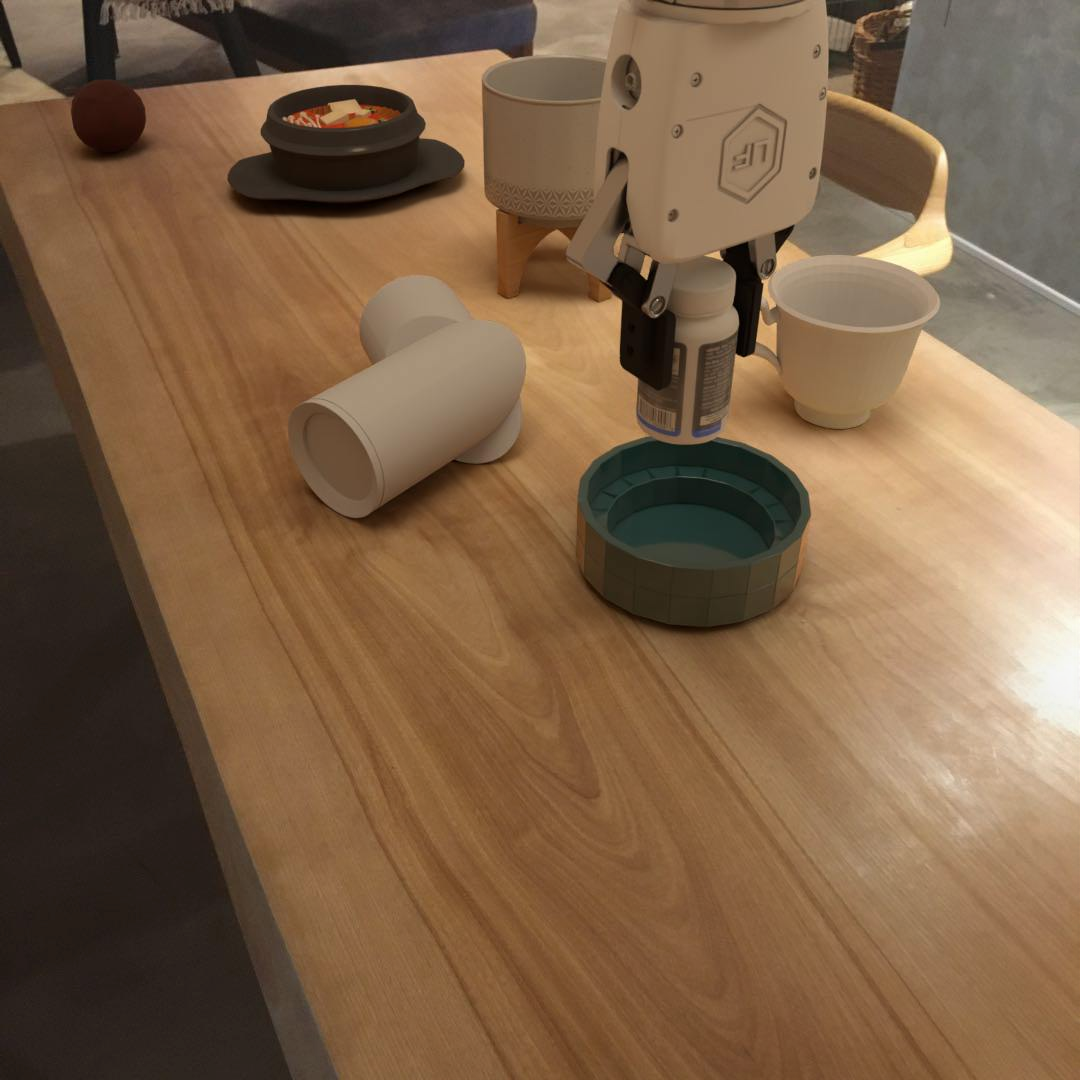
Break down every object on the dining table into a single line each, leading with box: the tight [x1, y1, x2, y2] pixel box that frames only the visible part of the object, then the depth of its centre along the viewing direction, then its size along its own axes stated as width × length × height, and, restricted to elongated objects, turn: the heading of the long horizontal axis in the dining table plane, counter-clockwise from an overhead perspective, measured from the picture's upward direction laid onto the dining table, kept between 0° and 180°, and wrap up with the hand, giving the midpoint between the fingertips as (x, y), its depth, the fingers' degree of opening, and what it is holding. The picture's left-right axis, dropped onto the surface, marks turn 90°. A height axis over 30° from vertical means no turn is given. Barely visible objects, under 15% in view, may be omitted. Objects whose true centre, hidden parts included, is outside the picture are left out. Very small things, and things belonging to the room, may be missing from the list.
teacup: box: [751, 254, 941, 430], centre depth 87 cm, size 12×15×10 cm
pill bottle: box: [635, 255, 739, 445], centre depth 58 cm, size 5×5×8 cm
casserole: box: [227, 84, 466, 205], centre depth 123 cm, size 25×19×8 cm
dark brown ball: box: [70, 78, 147, 153], centre depth 132 cm, size 8×9×8 cm
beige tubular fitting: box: [287, 274, 527, 519], centre depth 83 cm, size 18×11×20 cm
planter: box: [481, 54, 615, 302], centre depth 103 cm, size 13×13×18 cm
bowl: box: [575, 435, 812, 628], centre depth 74 cm, size 14×14×5 cm
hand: (687, 357), depth 58 cm, fingers closed on pill bottle, 4 cm apart
